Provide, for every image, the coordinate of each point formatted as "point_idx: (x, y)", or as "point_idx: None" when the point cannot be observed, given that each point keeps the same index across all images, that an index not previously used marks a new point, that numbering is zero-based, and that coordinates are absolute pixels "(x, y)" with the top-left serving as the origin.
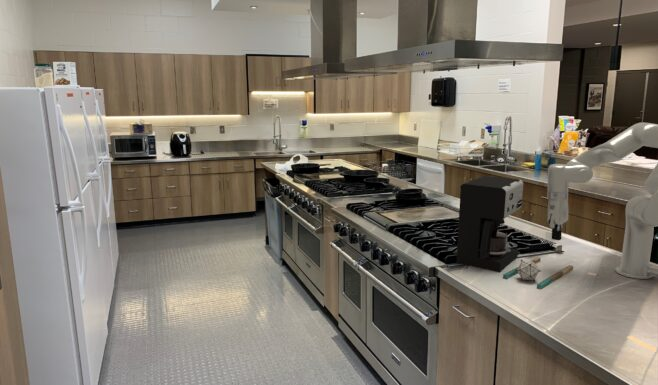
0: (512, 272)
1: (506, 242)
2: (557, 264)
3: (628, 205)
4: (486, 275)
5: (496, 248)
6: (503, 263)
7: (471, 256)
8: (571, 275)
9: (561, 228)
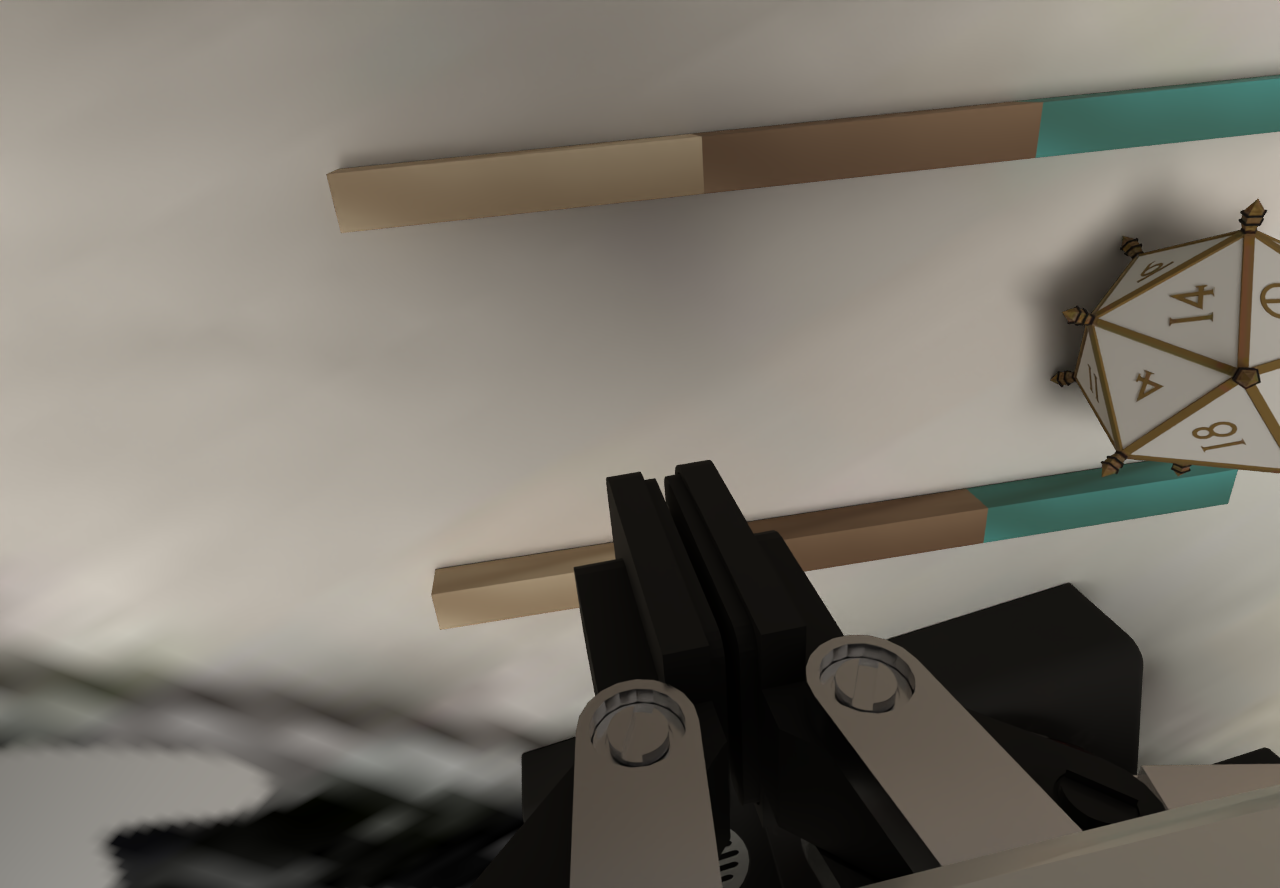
0: (1121, 487)
1: None
2: (347, 400)
3: None
4: (1208, 594)
5: None
6: (1015, 652)
7: None
8: (588, 54)
9: (608, 722)
